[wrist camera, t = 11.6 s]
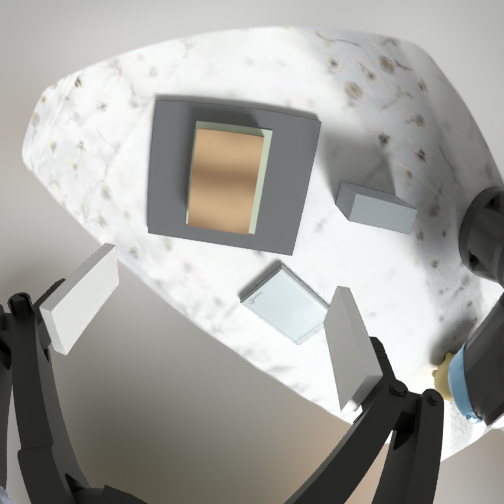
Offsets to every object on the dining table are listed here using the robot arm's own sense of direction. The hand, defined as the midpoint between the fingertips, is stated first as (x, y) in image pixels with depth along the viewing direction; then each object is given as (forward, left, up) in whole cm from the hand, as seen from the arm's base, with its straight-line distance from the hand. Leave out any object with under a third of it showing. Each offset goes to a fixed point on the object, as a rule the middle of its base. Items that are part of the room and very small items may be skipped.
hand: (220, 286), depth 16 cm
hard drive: (-9, +15, -20) cm, 27 cm away
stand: (-15, -3, -20) cm, 25 cm away
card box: (+2, -2, -19) cm, 19 cm away
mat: (+2, -2, -20) cm, 20 cm away
